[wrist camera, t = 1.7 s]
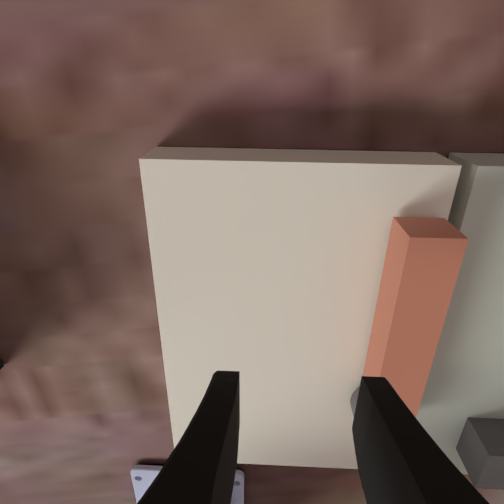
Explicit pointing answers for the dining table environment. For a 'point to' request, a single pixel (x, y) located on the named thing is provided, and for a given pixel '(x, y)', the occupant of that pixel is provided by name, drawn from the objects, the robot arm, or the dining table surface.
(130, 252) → the dining table surface
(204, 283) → the pale square platform
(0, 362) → the ammunition clip
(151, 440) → the dining table surface
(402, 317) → the bar
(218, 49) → the dining table surface
